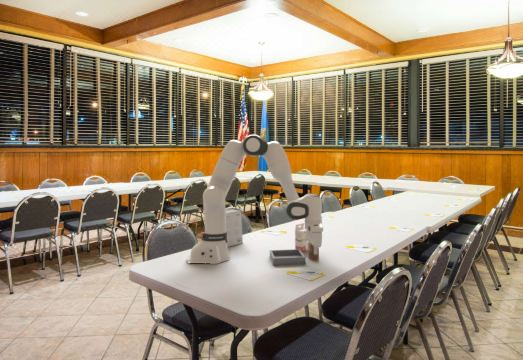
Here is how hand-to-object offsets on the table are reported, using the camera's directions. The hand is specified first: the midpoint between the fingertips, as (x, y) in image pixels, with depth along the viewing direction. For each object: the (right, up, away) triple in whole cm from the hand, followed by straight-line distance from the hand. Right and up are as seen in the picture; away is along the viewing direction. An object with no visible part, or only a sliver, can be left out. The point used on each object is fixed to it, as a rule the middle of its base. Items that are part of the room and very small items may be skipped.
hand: (313, 251), depth 207 cm
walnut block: (0, -4, 0) cm, 4 cm away
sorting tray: (-14, -4, -2) cm, 14 cm away
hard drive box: (-46, -2, +34) cm, 58 cm away
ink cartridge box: (-4, -3, +18) cm, 19 cm away
